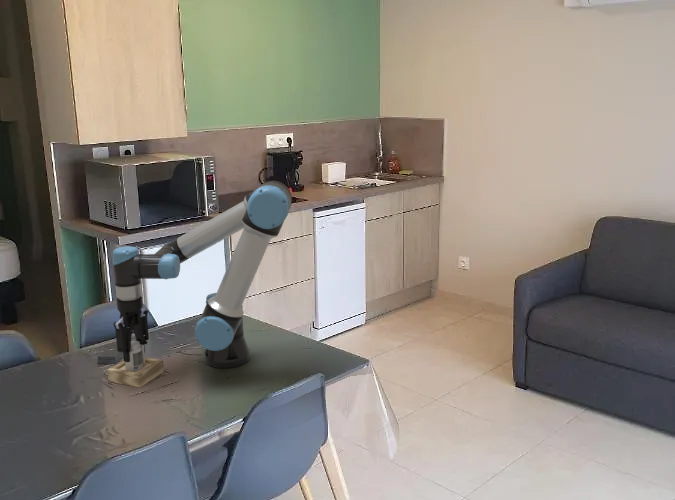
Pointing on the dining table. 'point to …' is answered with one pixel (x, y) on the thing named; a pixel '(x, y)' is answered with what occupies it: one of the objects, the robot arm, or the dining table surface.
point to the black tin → (109, 357)
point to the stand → (136, 373)
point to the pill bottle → (137, 355)
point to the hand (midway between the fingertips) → (135, 366)
